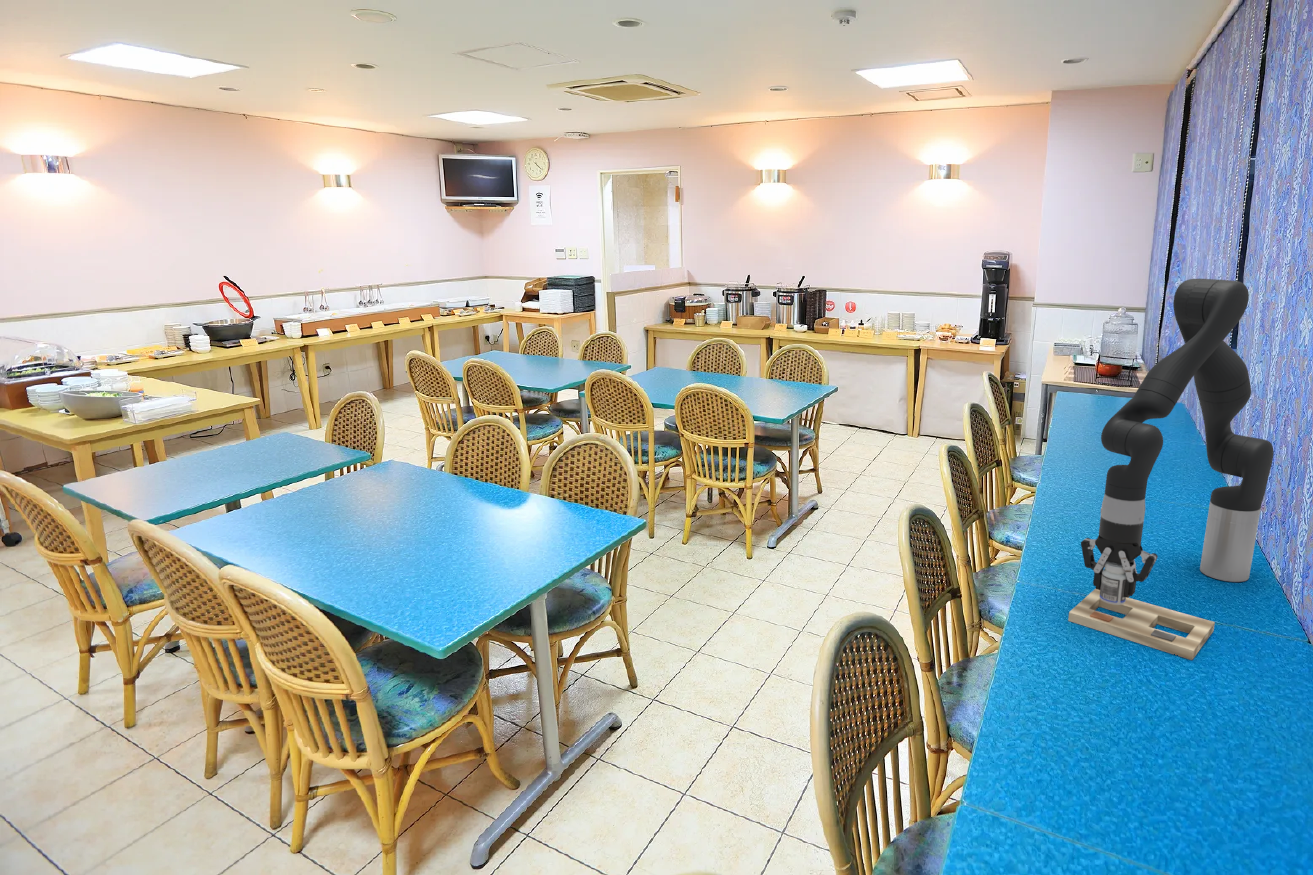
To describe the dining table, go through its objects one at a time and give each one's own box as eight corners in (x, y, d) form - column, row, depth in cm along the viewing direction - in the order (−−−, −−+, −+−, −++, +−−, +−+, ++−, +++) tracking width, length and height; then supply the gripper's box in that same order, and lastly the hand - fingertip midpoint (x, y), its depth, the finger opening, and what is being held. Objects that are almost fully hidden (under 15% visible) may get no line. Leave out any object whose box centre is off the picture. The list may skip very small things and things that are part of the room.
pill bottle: (1115, 594, 159) (1120, 558, 157) (1130, 604, 154) (1135, 567, 152) (1094, 595, 159) (1098, 559, 157) (1107, 606, 154) (1112, 568, 152)
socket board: (1094, 596, 166) (1095, 587, 166) (1213, 630, 150) (1215, 620, 150) (1068, 620, 157) (1069, 610, 156) (1192, 660, 141) (1193, 649, 140)
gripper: (1168, 519, 149) (1158, 596, 153) (1090, 503, 159) (1082, 576, 164) (1156, 530, 144) (1146, 609, 149) (1077, 513, 155) (1069, 587, 159)
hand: (1113, 591), depth 156 cm, fingers closed on pill bottle, 4 cm apart
